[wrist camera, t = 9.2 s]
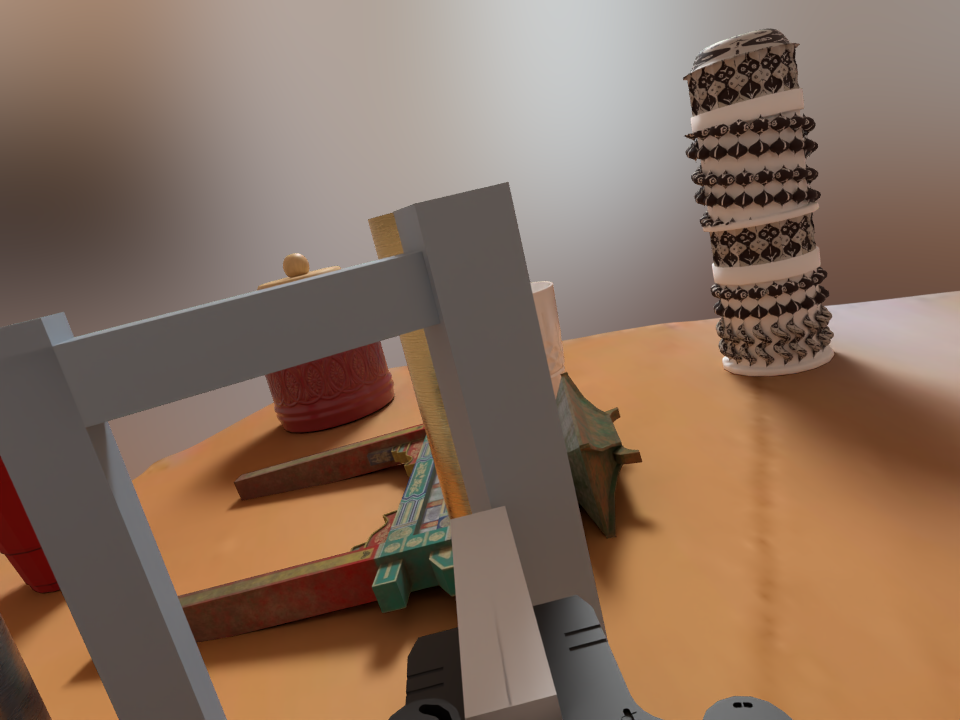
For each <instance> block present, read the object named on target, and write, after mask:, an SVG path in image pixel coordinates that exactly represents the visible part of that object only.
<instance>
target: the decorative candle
mask: <svg viewBox="0 0 960 720" xmlns="http://www.w3.org/2000/svg"><path fill="white" fill-rule="evenodd" d="M798 45H800V44H797V43H791V42H789V41H788V39H787V38H786V37H785V36H784V35H783V34H782V33H781V32H780V31H778V30H776V29H762V30H757V31H753V32H748V33H745V34H741V35H738V36H735V37H732V38H729V39H726V40H723V41H720V42H718V43H716V44H713V45H711V46H709V47H707V48H705V49H704V50H702V51H701V52H700V53H699V54H698V55H697V57H696V59H695V62H694V64H693V68H692V70H691V72H690V73H689V74H688V75H687V76H685V77H684V78H683V80H687V81H688V87H689V95H690V102H691V107H692V115H693V117H692V118H691V125H692V131H693V133H692V134H688V135H685V137H687V138H689V139H692V140H695V138H698V141H697V140H696V141H695V143H694V144H693V143H692V144H691V145H690V146H689V148H687V150H686V155H687V157H688V158H691V159H694V160H695V161H696V160H697V158H698V159H701V165H700V167H699V168H698V169H697V170H696V171H695V172H694V173H693V174H692V176H691V179H692V181H693V182H694V183H695V184H697V185H701V186H702V188H700V190H699V191H697V192H696V193H695V196H694V197H695V200H696V202H697V203H698V204H702V205H704V206H705V205H707V207H708V211H707V212H705V214H704V215H703V216H702V217H701V219H700V223H701V224H702V227H703V230H704V232H710V237H711V246H712V252H713V260H714V263H713V264H712V269H713V275H714V281H715V283H716V284H715V285H713V286H712V287H711V292H712V295H713V296H714V297H716V298H719V299H720V300H719V302H717V303H716V304H715V305H714V311H715V313H716V314H717V315H720V316H722V318H721V320H720V321H719V322H718V323H717V325H716V330H717V334H718V335H719V336H720V337H721V338H722V339H721V340H720V342H719V348H720V352H721V353H722V354H723V355H724V356H725V357H724V358H723V366H724V369H725V370H727V371H729V372H731V373H733V374H740V375H746V376H777V375H786V374H794V373H799V372H803V371H807V370H810V369H814V368H817V367H819V366H821V365H823V364H826V363H828V362H830V360H831V359H832V357H833V356H834V351H833V349H832V348H831V347H830V345H829V344H830V341H831V340H830V339H832V338H833V336H834V333H833V332H832V331H830V329H829V327H828V326H827V325H828V323H829V320H830V319H831V318H832V314H831V313H830V312H829V311H828V309H827V308H825V307H824V306H822V305H821V304H820V303H822V302H824V300H825V299H826V298H827V297H828V296H829V292H828V291H827V290H825V289H824V287H822V286H820V285H818V284H820V283H821V282H822V281H823V279H825V278H826V277H827V272H826V271H825V270H823V269H822V268H821V267H819V266H820V265H821V263H820V254H819V247H817V246H816V243H815V240H814V234H815V231H814V224H813V221H812V215H813V212H814V211H816V210H817V209H818V208H819V204H818V203H817V202H815V201H816V200H817V199H818V198H820V196H821V194H820V192H818V191H816V190H813V189H811V188H808V183H811V182H812V181H813V180H815V179H816V177H817V176H818V172H817V171H816V170H815V169H813V168H810V167H808V166H807V165H806V164H805V158H806V159H807V157H808V156H810V154H811V153H812V152H814V151H815V150H816V149H817V148H818V144H817V143H816V142H813V141H812V140H809V139H807V138H805V137H804V136H805V135H808V133H809V132H810V131H812V130H813V129H814V128H815V122H814V120H813V119H812V118H810V117H806V116H805V115H804V114H803V117H801V116H800V110H801V109H804V100H803V91H802V88H799V85H798V81H797V75H798V71H797V64H796V61H795V48H796V47H797V46H798ZM803 137H804V140H803Z"/></svg>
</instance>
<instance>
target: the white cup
mask: <svg viewBox="0 0 960 720" xmlns="http://www.w3.org/2000/svg"><path fill="white" fill-rule="evenodd" d="M530 284H531V289H532V293H533V298H534V302H535V307H536V312H537V316H538V321H539V326H540V330H541V335H542V339H543V344H544V349H545V353H546V358H547V363H548V367H549V372H550V376H551V381H552V386H553V390H554V395H555V400H556V397H557V393H558V389H559V384H560V380H561V375H560V374H562V373H565V367H564V361H565V359H564V355H563V344H562V340H561V330H560V324H559V319H558V312H557V306H556V300H555V293H554V287H553V283H552V282H548V281H541V282H531V283H530Z"/></svg>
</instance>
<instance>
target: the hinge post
mask: <svg viewBox="0 0 960 720" xmlns="http://www.w3.org/2000/svg"><path fill="white" fill-rule="evenodd" d="M0 720H52V719H51V717H50V715H49V713H48V711H47V709H46V707H45V705H44V702H43V700H42V698H41V696H40V694H39V692H38V690H37V688H36V686H35V684H34V682H33V680H32V677H31V675H30V673H29V671H28V669H27V667H26V665H25V663H24V661H23V659H22V657H21V655H20V652H19V650H18V648H17V646H16V644H15V642H14V640H13V638H12V636H11V634H10V632H9V630H8V628H7V625H6V623H5V621H4V619H3V617H2V615H1V613H0Z"/></svg>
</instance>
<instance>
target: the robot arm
mask: <svg viewBox="0 0 960 720" xmlns="http://www.w3.org/2000/svg"><path fill="white" fill-rule="evenodd" d="M450 524H451V538H452V551H453V564H454V578H455V591H456V605H457V618H458V627H457V628H453V629H450V630H446V631H442V632H438V633H434V634H430V635H426V636H423V637H419V638H418V639H417V641H416V643H415V644H414V646H413V648H412V650H411V652H410V654H409V656H408V663H407V685H406V694H407V696H406V705H405V706H404V707H402V708H401V709H400V710H398V711H397V712H396V713H395V714H393V715H392V716H391V717H390V718H389V720H663V719H660V718H657V717H654V716H652V715H650V714H649V713H647V712H645V711H644V710H642V709H641V708H640V707H639V706H638V705H637V704H636V703H635V701H634V700H633V698H632V696H631V695H630V693H629V691H628V688H627V686H626V684H625V681H624V679H623V677H622V674H621V672H620V670H619V667H618V665H617V663H616V660H615V658H614V656H613V653H612V651H611V649H610V646H609V644H608V642H607V640H606V637H605V635H604V632H603V630H602V628H601V626H600V623H599V621H598V618H597V616H596V614H595V611H594V609H593V607H592V606H591V605H589V604H588V603H587V602H586V601H584V600H583V599H582V598H580V597H579V596H578V595H574V596H570V597H566V598H562V599H559V600H555V601H551V602H547V603H543V604H539V605H535V606H532V603H531V599H530V595H529V592H528V588H527V584H526V581H525V577H524V574H523V570H522V566H521V563H520V559H519V555H518V552H517V548H516V544H515V541H514V537H513V533H512V530H511V526H510V522H509V519H508V515H507V511H506V508H505V506H502V507H498V508H494V509H490V510H486V511H482V512H478V513H474V514H470V515H466V516H462V517H458V518H454V519H450ZM703 720H792V719H791V718H790V717H789V716H788V715H787V714H786V713H785V712H783V711H782V710H780V709H779V708H777V707H776V706H774V705H773V704H771V703H769V702H767V701H764V700H761V699H757V698H754V697H745V696H733V697H730V698H726V699H723V700H720V701H717V702H716V703H715V704H714V705H713V706H711V707H710V708H709V709H708V710H707V711H706V713H705V715H704V718H703Z"/></svg>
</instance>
